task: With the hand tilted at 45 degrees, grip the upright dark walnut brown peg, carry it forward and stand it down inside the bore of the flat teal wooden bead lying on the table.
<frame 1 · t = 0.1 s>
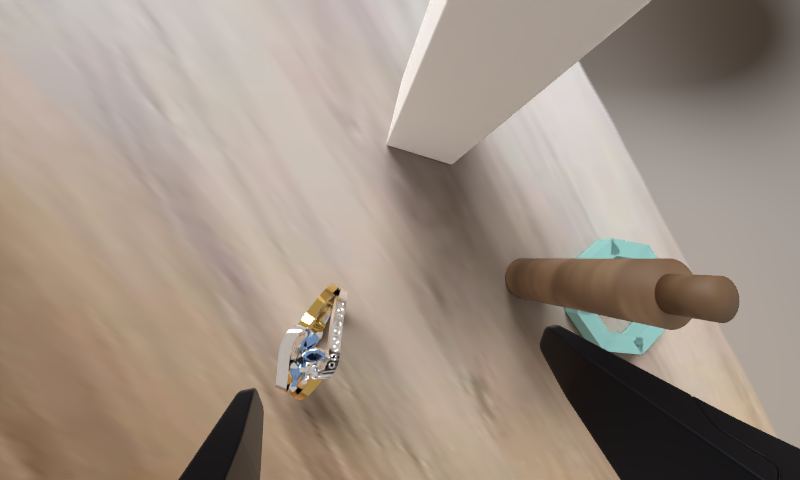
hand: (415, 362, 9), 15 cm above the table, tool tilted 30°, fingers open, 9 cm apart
ring: (318, 323, 23), on the table
milk: (426, 124, 26), on the table
bead: (612, 294, 28), on the table
brown peg: (523, 278, 26), on the table
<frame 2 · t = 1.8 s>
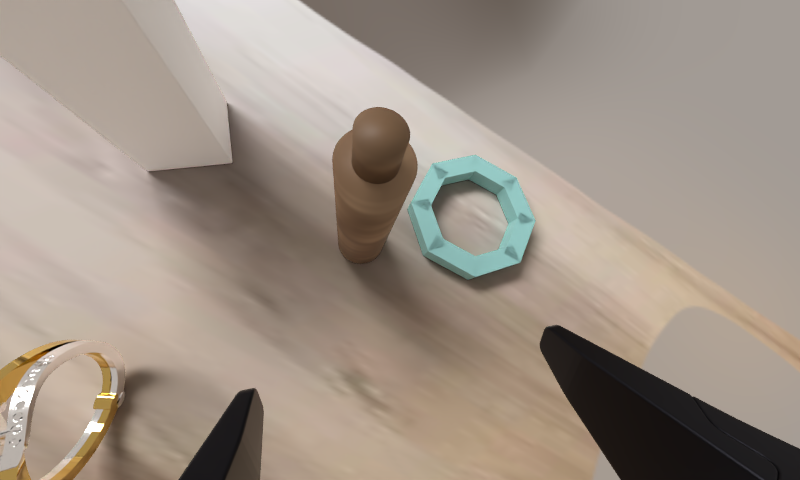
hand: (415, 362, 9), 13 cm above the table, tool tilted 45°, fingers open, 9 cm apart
ring: (118, 397, 18), on the table
milk: (190, 136, 24), on the table
bead: (468, 218, 26), on the table
brown peg: (360, 241, 23), on the table
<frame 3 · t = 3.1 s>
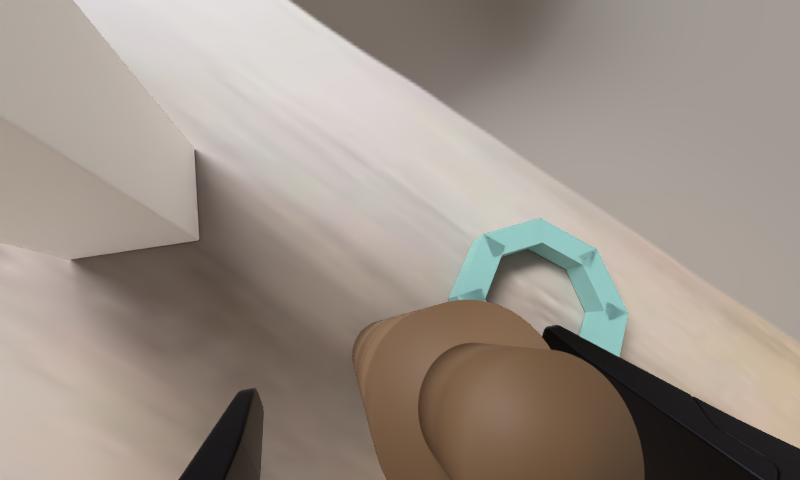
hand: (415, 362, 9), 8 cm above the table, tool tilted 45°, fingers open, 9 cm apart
milk: (139, 200, 16), on the table
bead: (531, 306, 18), on the table
brown peg: (384, 353, 16), on the table
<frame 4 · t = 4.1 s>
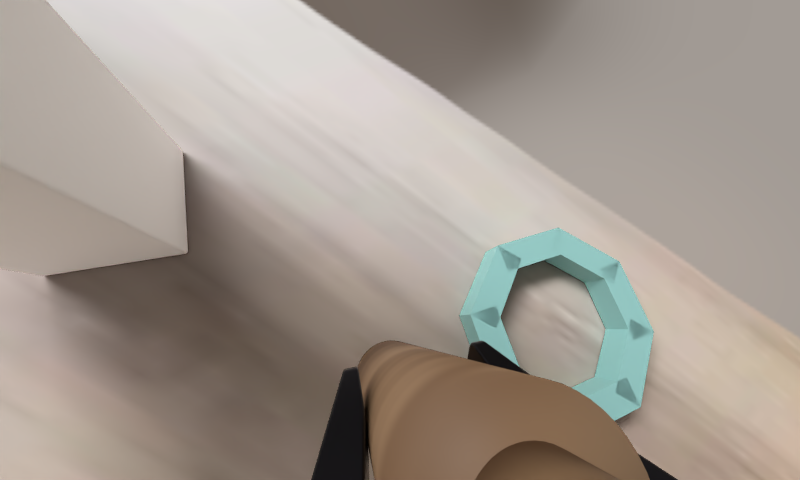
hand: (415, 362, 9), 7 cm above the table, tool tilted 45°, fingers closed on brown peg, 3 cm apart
milk: (122, 209, 15), on the table
bead: (548, 323, 17), on the table
brown peg: (390, 377, 15), on the table, touching gripper
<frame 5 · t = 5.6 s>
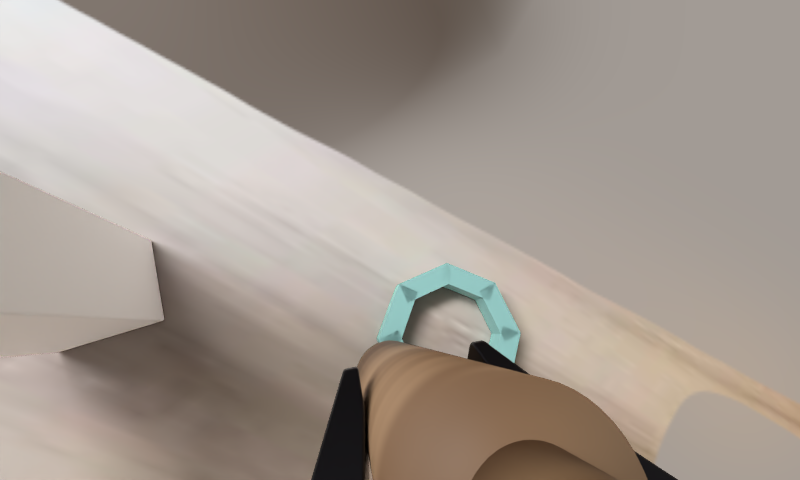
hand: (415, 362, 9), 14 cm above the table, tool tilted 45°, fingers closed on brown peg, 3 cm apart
milk: (110, 292, 20), on the table
bead: (446, 335, 23), on the table
brown peg: (390, 377, 15), point 7 cm above the table, touching gripper
when the fingers open (8 cm above the table, at t = 7.2 s): brown peg drops 2 cm, resting in bead.
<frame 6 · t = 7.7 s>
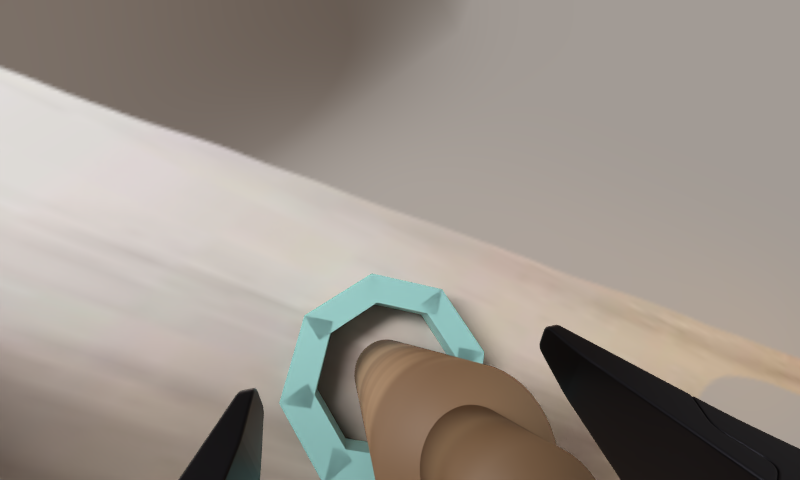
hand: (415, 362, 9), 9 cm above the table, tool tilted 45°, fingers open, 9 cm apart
bead: (385, 371, 17), on the table
brown peg: (385, 372, 17), resting in bead
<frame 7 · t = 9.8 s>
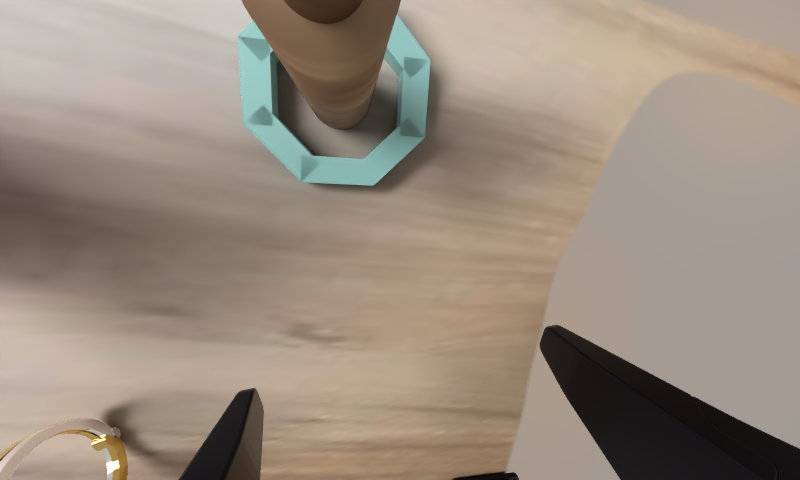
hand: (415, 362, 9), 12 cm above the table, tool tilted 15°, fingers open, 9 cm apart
ring: (115, 429, 20), on the table
bead: (339, 97, 18), on the table
brown peg: (339, 98, 18), resting in bead
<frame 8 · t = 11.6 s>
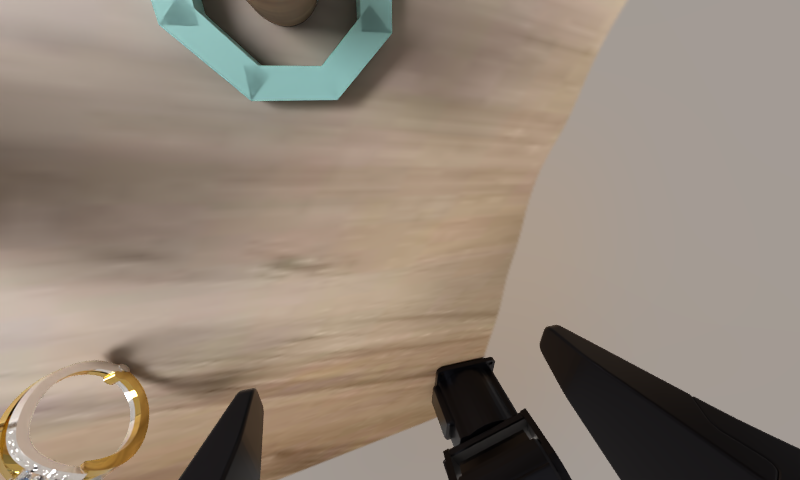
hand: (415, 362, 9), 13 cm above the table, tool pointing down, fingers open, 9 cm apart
ring: (122, 365, 22), on the table
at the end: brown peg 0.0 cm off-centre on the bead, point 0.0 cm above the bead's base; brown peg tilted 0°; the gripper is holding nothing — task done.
